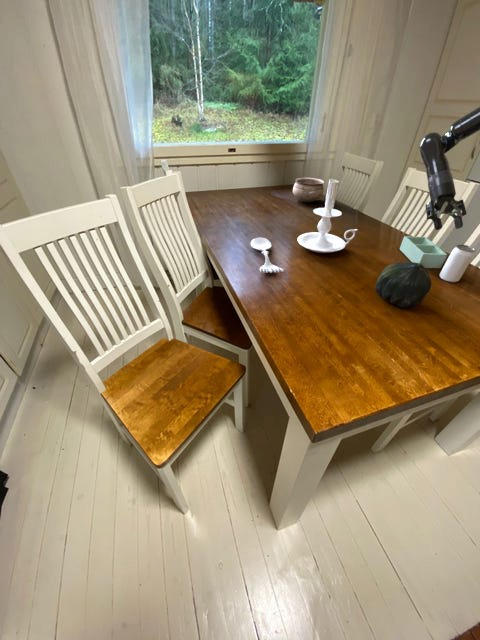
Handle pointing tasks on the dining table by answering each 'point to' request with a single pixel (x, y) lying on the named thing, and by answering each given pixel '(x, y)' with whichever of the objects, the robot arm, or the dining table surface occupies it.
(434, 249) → the divided box
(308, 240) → the candlestick
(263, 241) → the spoon
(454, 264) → the can
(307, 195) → the cooking pot
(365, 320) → the dining table surface
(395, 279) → the squash
